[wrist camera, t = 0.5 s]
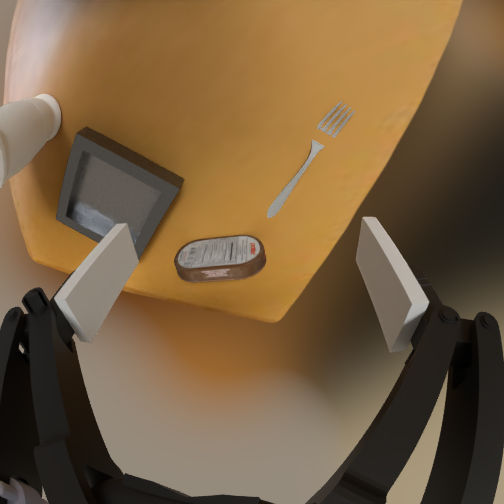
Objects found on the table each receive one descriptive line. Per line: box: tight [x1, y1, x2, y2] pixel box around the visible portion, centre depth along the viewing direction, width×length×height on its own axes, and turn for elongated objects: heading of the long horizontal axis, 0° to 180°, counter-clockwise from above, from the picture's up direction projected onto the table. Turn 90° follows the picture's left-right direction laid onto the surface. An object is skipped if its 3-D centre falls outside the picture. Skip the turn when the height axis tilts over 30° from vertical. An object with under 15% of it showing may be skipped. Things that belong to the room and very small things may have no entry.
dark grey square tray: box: [56, 127, 184, 260], centre depth 39 cm, size 18×18×3 cm
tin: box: [174, 235, 266, 283], centre depth 44 cm, size 15×3×8 cm, turn 97°
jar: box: [0, 94, 61, 189], centre depth 23 cm, size 11×10×15 cm
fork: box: [267, 101, 355, 218], centre depth 37 cm, size 3×24×2 cm, turn 153°
